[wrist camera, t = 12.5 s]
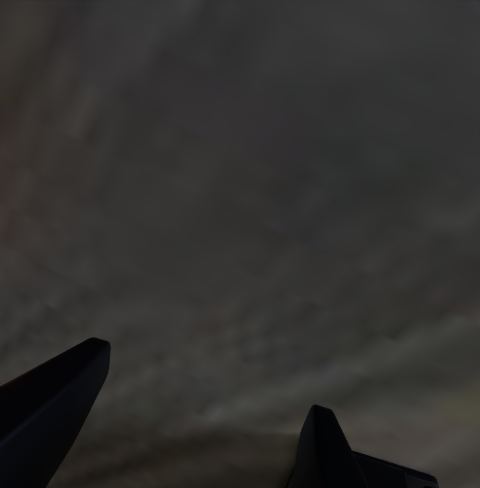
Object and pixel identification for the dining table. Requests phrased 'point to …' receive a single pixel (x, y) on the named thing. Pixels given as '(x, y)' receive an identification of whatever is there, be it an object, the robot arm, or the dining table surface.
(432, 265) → the dining table surface
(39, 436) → the robot arm
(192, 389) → the dining table surface
